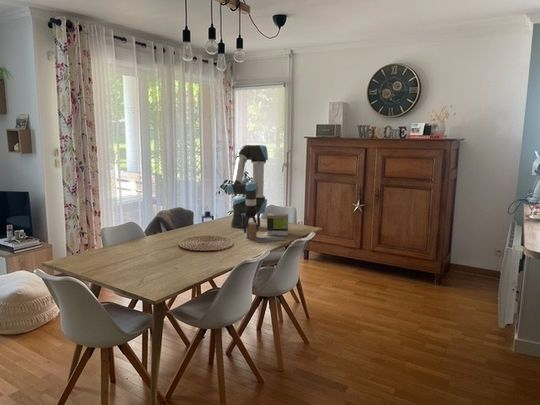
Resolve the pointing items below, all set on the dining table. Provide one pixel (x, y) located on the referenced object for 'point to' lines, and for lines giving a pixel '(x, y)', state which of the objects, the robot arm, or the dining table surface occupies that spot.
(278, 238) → the slate mat
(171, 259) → the dining table surface
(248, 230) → the tan upright block
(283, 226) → the tea box
